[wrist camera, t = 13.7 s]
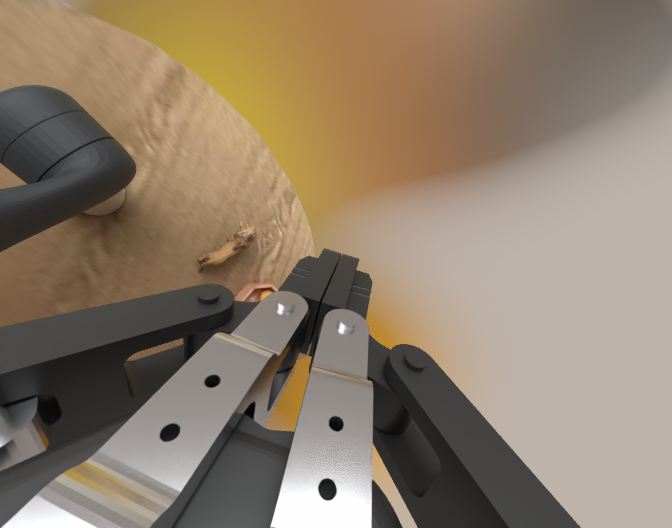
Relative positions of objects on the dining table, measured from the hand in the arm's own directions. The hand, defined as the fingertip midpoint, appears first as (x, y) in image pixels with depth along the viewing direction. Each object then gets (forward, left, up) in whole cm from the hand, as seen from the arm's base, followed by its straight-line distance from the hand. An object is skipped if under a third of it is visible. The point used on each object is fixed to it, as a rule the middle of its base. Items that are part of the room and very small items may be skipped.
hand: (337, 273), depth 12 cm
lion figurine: (+10, 0, -61) cm, 62 cm away
